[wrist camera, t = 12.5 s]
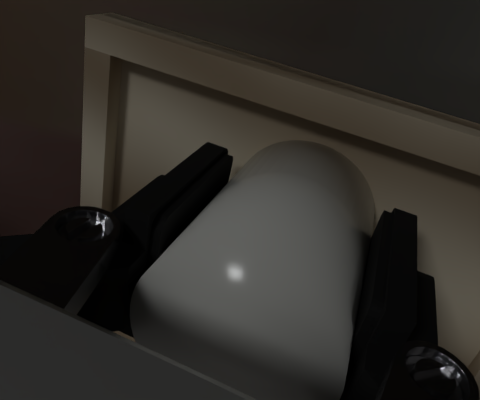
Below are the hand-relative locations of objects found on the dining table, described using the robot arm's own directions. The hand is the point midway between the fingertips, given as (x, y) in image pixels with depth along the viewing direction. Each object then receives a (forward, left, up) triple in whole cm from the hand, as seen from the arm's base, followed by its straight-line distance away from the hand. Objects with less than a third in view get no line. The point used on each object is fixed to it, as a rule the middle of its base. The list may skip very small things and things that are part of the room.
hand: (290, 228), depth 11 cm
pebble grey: (0, 0, -1) cm, 1 cm away
